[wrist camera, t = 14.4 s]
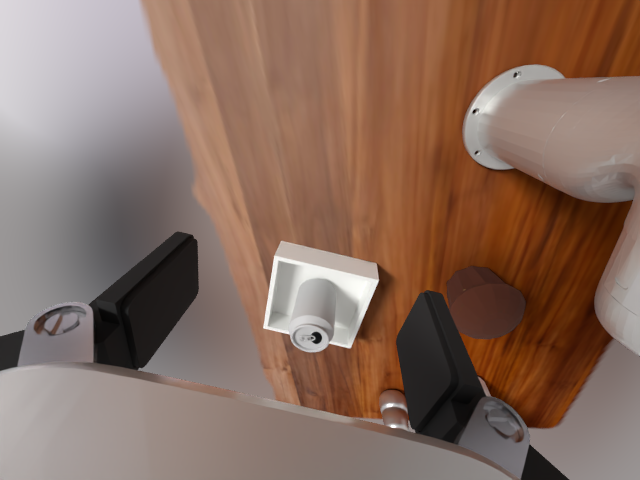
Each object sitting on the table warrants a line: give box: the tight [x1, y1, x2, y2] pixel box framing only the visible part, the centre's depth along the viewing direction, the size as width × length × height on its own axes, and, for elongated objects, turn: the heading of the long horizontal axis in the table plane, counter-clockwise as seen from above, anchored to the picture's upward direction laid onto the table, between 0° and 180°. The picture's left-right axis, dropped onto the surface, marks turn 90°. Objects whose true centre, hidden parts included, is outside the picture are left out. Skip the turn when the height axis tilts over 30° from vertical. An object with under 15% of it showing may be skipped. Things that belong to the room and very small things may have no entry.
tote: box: [263, 241, 379, 348], centre depth 52 cm, size 18×18×5 cm
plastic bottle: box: [379, 390, 409, 431], centre depth 60 cm, size 6×7×20 cm
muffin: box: [447, 266, 526, 339], centre depth 46 cm, size 12×11×10 cm
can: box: [288, 278, 337, 352], centre depth 48 cm, size 8×8×12 cm
